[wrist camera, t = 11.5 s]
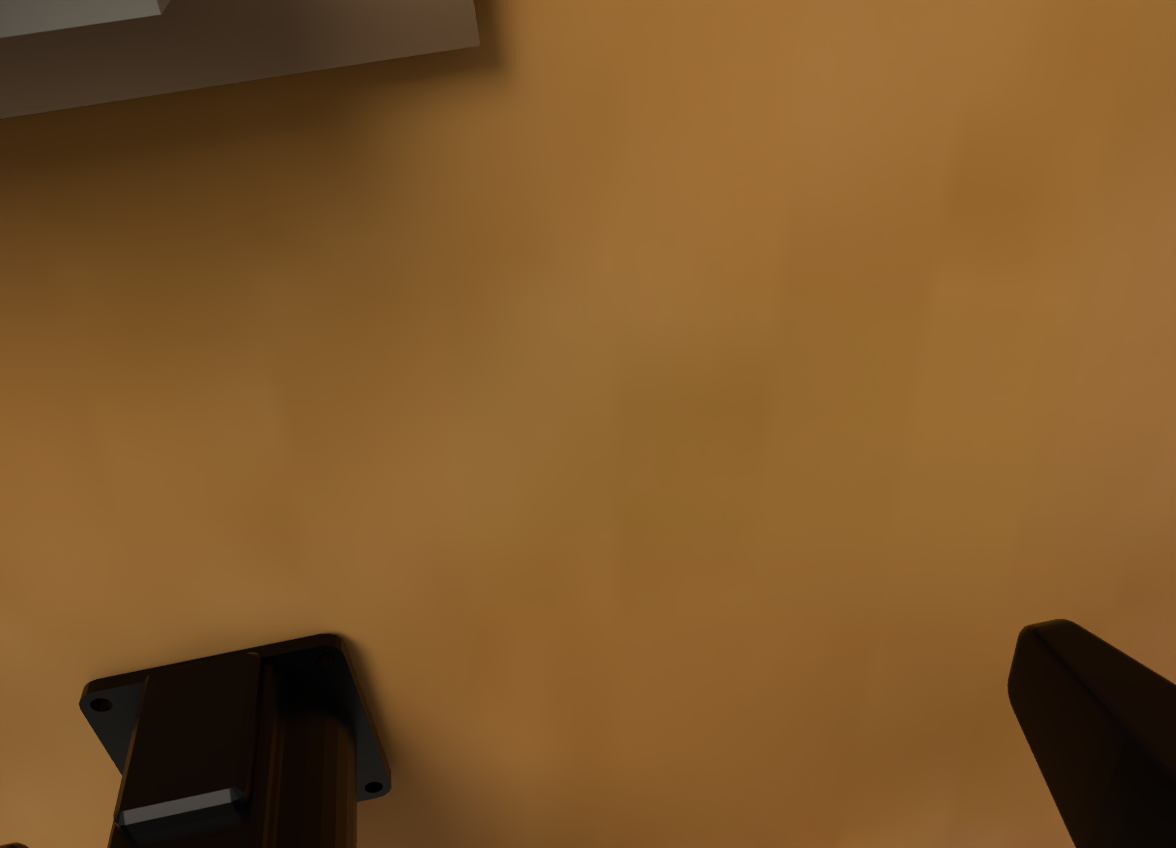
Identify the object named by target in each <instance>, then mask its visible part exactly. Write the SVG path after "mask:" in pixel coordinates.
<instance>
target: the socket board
mask: <svg viewBox="0 0 1176 848" xmlns="http://www.w3.org/2000/svg"><path fill="white" fill-rule="evenodd" d="M475 46H481V45H480V39H479V32H478V26H477V20H476V13H475V7H474V1H473V0H0V119H3V118H10V117H16V116H23V115H30V114H36V113H43V112H49V111H56V110H62V109H69V108H75V107H82V106H89V105H95V104H102V103H108V102H115V101H121V100H128V99H134V98H141V97H147V96H154V95H161V94H167V93H174V92H180V91H187V90H193V89H200V88H206V87H213V86H219V85H226V84H233V83H239V82H246V81H252V80H259V79H265V78H272V77H278V76H285V75H292V74H298V73H305V72H311V71H318V70H324V69H331V68H337V67H344V66H350V65H357V64H364V63H370V62H377V61H383V60H390V59H396V58H403V57H409V56H416V55H422V54H429V53H436V52H442V51H449V50H455V49H462V48H468V47H475Z"/></svg>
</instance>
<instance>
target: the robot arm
mask: <svg viewBox="0 0 1176 848" xmlns="http://www.w3.org/2000/svg"><path fill="white" fill-rule="evenodd" d="M322 652H328V653H329V654H320V653H322ZM1008 695H1009V699H1010V703H1011V706H1012V708H1013V711H1014V713H1015V715H1016V717H1017V719H1018V722H1019V724H1020V726H1021V728H1022V730H1023V733H1024V735H1025V737H1026V739H1027V742H1028V744H1029V746H1030V748H1031V750H1032V753H1033V755H1034V757H1035V759H1036V761H1037V764H1038V766H1039V768H1040V770H1041V773H1042V775H1043V777H1044V779H1045V781H1046V784H1047V786H1048V788H1049V790H1050V792H1051V795H1052V797H1053V799H1054V801H1055V804H1056V806H1057V808H1058V810H1059V812H1060V815H1061V817H1062V819H1063V821H1064V823H1065V826H1066V828H1067V830H1068V832H1069V835H1070V837H1071V839H1072V841H1073V843H1074V845H1075V847H1076V848H1176V685H1175V684H1174V683H1172V682H1170V681H1169V680H1167V679H1166V678H1164V677H1162V676H1161V675H1159V674H1157V673H1156V672H1154V671H1153V670H1151V669H1149V668H1148V667H1146V666H1144V665H1143V664H1141V663H1140V662H1138V661H1136V660H1135V659H1133V658H1132V657H1130V656H1128V655H1127V654H1125V653H1123V652H1122V651H1120V650H1119V649H1117V648H1115V647H1114V646H1112V645H1110V644H1109V643H1107V642H1106V641H1104V640H1102V639H1101V638H1099V637H1097V636H1096V635H1094V634H1093V633H1091V632H1089V631H1088V630H1086V629H1084V628H1083V627H1081V626H1080V625H1078V624H1076V623H1074V622H1072V621H1069V620H1066V619H1055V620H1050V621H1046V622H1041V623H1036V624H1032V625H1028V626H1025V627H1024V628H1023V629H1022V630H1021V631H1020V633H1019V636H1018V639H1017V644H1016V648H1015V652H1014V656H1013V661H1012V665H1011V669H1010V673H1009V678H1008ZM100 698H104V699H100ZM79 706H80V709H81V711H82V713H83V714H84V716H85V717H86V719H87V720H88V722H89V724H90V725H91V727H92V728H93V730H94V732H95V733H96V735H97V736H98V738H99V740H100V741H101V743H102V744H103V746H104V747H105V749H106V751H107V752H108V754H109V755H110V757H111V759H112V760H113V762H114V763H115V765H116V767H117V768H118V770H119V771H120V773H121V774H122V780H121V784H120V789H119V793H118V798H117V802H116V806H115V811H114V815H113V816H114V820H113V825H112V829H111V834H110V838H109V843H108V847H107V848H356V842H357V802H360V801H364V800H369V799H374V798H378V797H381V796H384V795H385V794H387V793H388V792H389V791H390V789H391V770H390V768H389V765H388V762H387V759H386V756H385V754H384V751H383V748H382V745H381V743H380V740H379V737H378V734H377V731H376V729H375V726H374V723H373V720H372V718H371V715H370V712H369V709H368V706H367V704H366V701H365V698H364V695H363V693H362V690H361V687H360V684H359V681H358V679H357V676H356V673H355V670H354V667H353V665H352V662H351V659H350V656H349V654H348V651H347V648H346V645H345V643H344V641H343V640H342V639H341V638H340V637H338V636H336V635H332V634H318V635H313V636H308V637H304V638H299V639H294V640H289V641H284V642H279V643H274V644H269V645H264V646H259V647H254V648H249V649H244V650H239V651H234V652H229V653H225V654H220V655H215V656H210V657H205V658H200V659H195V660H190V661H185V662H180V663H175V664H170V665H165V666H160V667H155V668H151V669H146V670H141V671H136V672H131V673H126V674H121V675H116V676H111V677H106V678H101V679H96V680H94V681H91V682H89V683H88V684H87V685H85V686H84V689H83V692H82V695H81V699H80V702H79ZM0 848H28V847H27V846H25V845H23V844H20V843H10V844H6V845H1V846H0Z"/></svg>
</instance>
